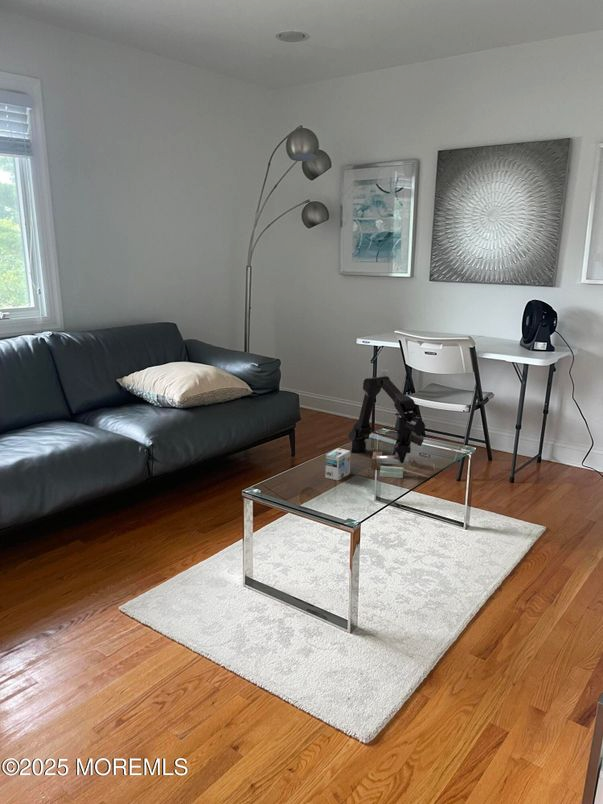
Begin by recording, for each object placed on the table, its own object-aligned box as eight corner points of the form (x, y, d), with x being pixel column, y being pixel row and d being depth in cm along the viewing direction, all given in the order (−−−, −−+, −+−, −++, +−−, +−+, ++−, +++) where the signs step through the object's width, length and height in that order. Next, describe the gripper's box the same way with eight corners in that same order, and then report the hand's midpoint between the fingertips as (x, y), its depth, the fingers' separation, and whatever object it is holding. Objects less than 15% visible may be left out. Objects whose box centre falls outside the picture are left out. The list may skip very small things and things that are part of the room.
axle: (376, 464, 268) (376, 457, 267) (376, 461, 272) (376, 453, 271) (408, 465, 266) (408, 458, 265) (408, 462, 269) (408, 454, 268)
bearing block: (371, 468, 276) (372, 458, 274) (373, 461, 285) (373, 451, 284) (380, 469, 275) (381, 459, 274) (381, 461, 284) (382, 452, 283)
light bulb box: (338, 481, 261) (338, 457, 259) (324, 477, 265) (325, 454, 262) (350, 473, 270) (351, 450, 267) (337, 470, 274) (338, 447, 271)
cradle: (379, 476, 267) (379, 472, 266) (380, 469, 274) (380, 465, 274) (402, 478, 265) (403, 473, 265) (403, 471, 273) (403, 467, 272)
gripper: (423, 435, 253) (421, 470, 257) (423, 422, 271) (421, 455, 275) (396, 433, 255) (394, 468, 259) (397, 420, 273) (395, 453, 277)
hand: (402, 461), depth 268 cm, fingers closed on axle, 3 cm apart
